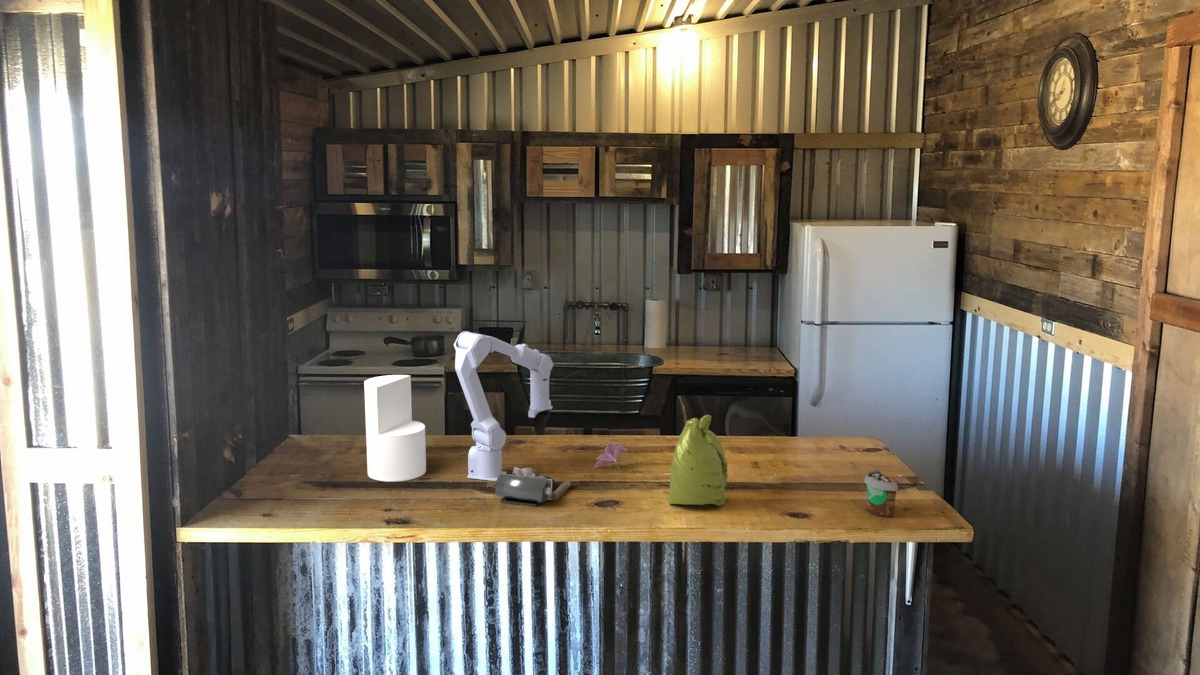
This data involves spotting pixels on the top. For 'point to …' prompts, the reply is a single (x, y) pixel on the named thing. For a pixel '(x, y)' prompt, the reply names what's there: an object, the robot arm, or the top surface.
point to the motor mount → (527, 489)
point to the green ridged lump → (698, 466)
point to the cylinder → (393, 430)
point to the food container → (880, 494)
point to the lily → (611, 454)
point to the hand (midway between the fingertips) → (539, 434)
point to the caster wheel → (531, 474)
